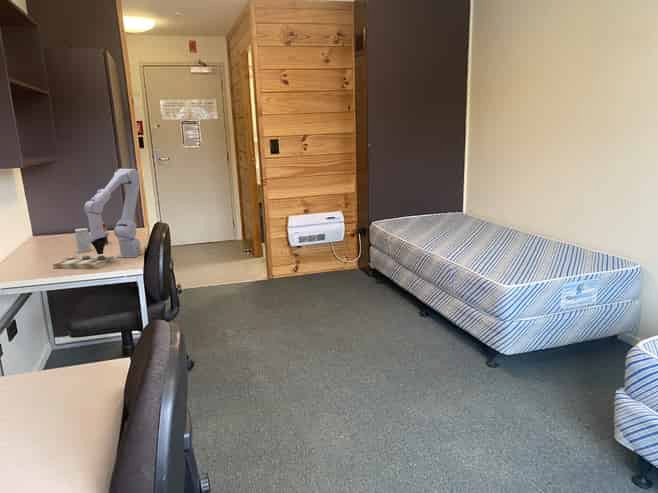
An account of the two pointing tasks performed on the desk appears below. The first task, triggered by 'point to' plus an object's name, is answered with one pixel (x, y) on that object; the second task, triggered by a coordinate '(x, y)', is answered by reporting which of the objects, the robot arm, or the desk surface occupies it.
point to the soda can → (105, 231)
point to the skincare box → (82, 240)
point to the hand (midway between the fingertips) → (100, 254)
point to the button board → (82, 263)
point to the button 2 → (101, 257)
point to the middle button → (85, 257)
